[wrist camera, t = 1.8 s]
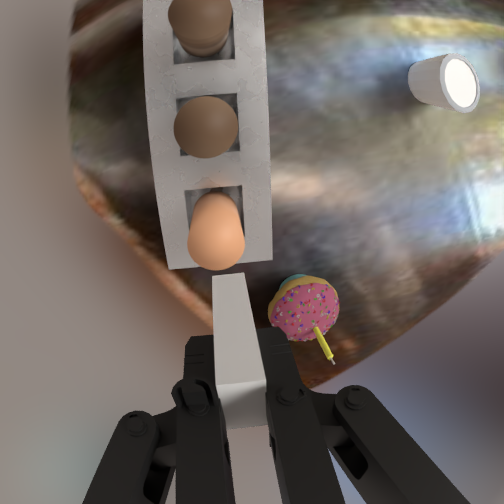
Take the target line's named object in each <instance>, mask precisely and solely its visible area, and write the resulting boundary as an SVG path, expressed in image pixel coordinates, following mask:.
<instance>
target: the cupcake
mask: <svg viewBox="0 0 504 504" xmlns="http://www.w3.org/2000/svg"><path fill="white" fill-rule="evenodd" d="M339 303H340V302H339V299H338V296H337V293H336V291H335V289H334V288H333V287H332V286H331V285H330V284H329V283H328V282H327V281H326V280H324V279H322V278H317V277H313V276H307V275H303V274H296V275H292V276H290V277H288V278H287V279H285V280H284V281H283V282H282V284H281V286H280V288H279V291H278V292H277V293H276V295H275V297H274V298H273V300H272V301H271V302H270V303H269V307H268V317H269V321H270V322H271V324H272V326H273V327H277V326H279V327H280V328H281V329H282V330H283V331H284V332H285V333H286V335H287V338H288V340H294V341H297V340H298V341H299V340H301V341H302V340H303V341H306V340H311V339H312V340H313V338H317V339H318V341H319V343H320V345H321V347H322V349H323V351H324V353H325V355H326V357H327V359H330V360H331V361H332V363H333V364H335V363H334V361H333V359H332V358H333V355H332V353H331V351H330V349H329V347H328V345H327V343H326V341H325V339H324V337H323V336H322V334H323V335H325V334H326V333H325V332H327V331H328V330H329V329H330V328H331V327H332V325H334V324H335V322H336V319H337V318H338V317H337V316H338V313H339V309H340V308H339ZM324 333H325V334H324Z"/></svg>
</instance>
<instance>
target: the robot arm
mask: <svg viewBox="0 0 504 504" xmlns="http://www.w3.org/2000/svg"><path fill="white" fill-rule="evenodd" d="M212 290H213V330H214V335H204V336H192V337H190V339H189V341H188V342H187V344H186V346H185V358H184V375H183V379H182V380H180V381H178V382H177V383H176V384H175V386H174V387H173V389H172V392H171V394H172V397H173V399H174V401H175V404H176V407H174V408H173V409H171V410H169V411H167V412H165V413H161V414H158V415H154V416H151V415H150V414H149V413H146V412H144V411H133V412H129V413H128V414H126V415H124V416H123V417H122V418H121V419H120V421H119V422H118V424H117V427H116V429H115V431H114V433H113V435H112V437H111V439H110V442H109V444H108V446H107V448H106V451H105V453H104V455H103V457H102V459H101V462H100V464H99V466H98V468H97V471H96V473H95V475H94V477H93V480H92V482H91V484H90V487H89V489H88V491H87V494H86V496H85V499H84V501H83V503H82V504H165V502H166V498H167V495H168V492H169V488H170V485H171V482H172V479H173V475H174V472H175V469H176V504H236V503H235V496H234V488H233V478H232V469H231V460H230V451H229V442H228V439H227V431H226V429H237V428H246V427H255V426H262V425H268V427H269V438H270V447H271V448H272V453H273V458H274V464H275V469H276V474H277V479H278V484H279V488H280V493H281V498H282V503H283V504H345V501H344V497H343V495H342V491H341V488H340V485H339V482H338V479H337V476H336V472H335V470H334V467H333V463H332V460H331V457H330V454H329V451H330V452H331V453H332V455H333V456H334V458H335V459H336V461H337V462H338V464H339V465H340V466H341V468H342V470H343V471H344V472H345V474H346V475H347V477H348V478H349V479H350V481H351V482H352V484H353V485H354V487H355V488H356V489H357V491H358V492H359V494H360V495H361V496H362V498H363V499H364V501H365V502H366V503H367V504H470V503H469V502H468V501H467V499H466V498H465V497H464V496H463V495H462V494H461V493H460V492H459V491H458V490H457V488H456V487H455V486H454V485H453V484H452V483H451V481H450V480H449V479H448V478H447V477H446V476H445V475H444V474H443V472H442V471H441V470H440V469H439V468H438V467H437V466H436V464H435V463H434V462H433V461H432V460H431V459H430V458H429V457H428V455H427V454H426V453H425V452H424V451H423V450H422V449H421V448H420V446H419V445H418V444H417V443H416V442H415V441H414V440H413V438H412V437H411V436H410V435H409V434H408V433H407V432H406V431H405V429H404V428H403V427H402V426H401V425H400V424H399V423H398V422H397V420H396V419H395V418H394V417H393V416H392V415H391V414H390V413H389V411H388V410H387V409H386V408H385V407H384V406H383V404H382V403H381V402H380V401H379V400H378V399H377V398H376V397H375V395H374V394H373V393H372V392H371V391H370V390H368V389H367V388H365V387H362V386H359V385H351V386H347V387H344V388H343V389H341V390H340V391H339V392H338V393H337V394H322V393H317V392H314V391H312V390H310V389H308V388H307V387H306V386H305V385H304V384H303V383H302V381H301V378H300V375H299V372H298V369H297V366H296V363H295V360H294V357H293V354H292V351H291V347H290V345H289V341H288V338H287V335H286V333H285V332H284V331H283V330H282V329H281V328H280V327H279V326H277V327H269V328H261V329H255V325H254V320H253V315H252V310H251V305H250V300H249V295H248V290H247V286H246V281H245V276H244V273H236V274H227V275H217V276H212ZM328 449H329V451H328Z"/></svg>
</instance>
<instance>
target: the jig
mask: <svg viewBox="0 0 504 504" xmlns="http://www.w3.org/2000/svg"><path fill="white" fill-rule="evenodd" d="M172 1H173V0H143V55H144V78H145V95H146V109H147V121H148V131H149V141H150V151H151V159H152V168H153V175H154V183H155V190H156V197H157V204H158V210H159V217H160V223H161V229H162V235H163V240H164V246H165V251H166V257H167V262H168V267H169V269H180V268H191V267H201V266H199V265H198V264H197V263H195V262H194V261H193V259H192V258H191V256H190V254H189V252H188V248H187V240H188V235H189V230H190V224H191V219H192V214H193V209H194V206H195V203H196V201H197V200H198V199H199V198H200V197H201V196H202V195H204V194H205V193H208V192H212V191H220V192H223V193H226V194H228V195H229V196H230V197H231V198H232V199H233V200H234V201H235V203H236V206H237V210H238V214H239V218H240V222H241V227H242V231H243V235H244V240H245V248H244V252H243V254H242V256H241V258H240V259H239V260H238V261H237V262H236V263H245V262H255V261H266V260H272V209H271V172H270V141H269V115H268V92H267V70H266V51H265V33H264V16H263V0H230V2H231V4H232V16H231V21H230V26H229V32H228V37H227V42H226V44H225V46H224V47H223V48H222V50H220V51H219V52H218V53H216V54H215V55H212V56H209V57H202V58H201V57H195V56H192V55H190V54H188V53H187V52H185V51H184V49H183V48H182V46H181V44H180V42H179V40H178V38H177V37H176V35H175V33H174V31H173V29H172V27H171V25H170V23H169V20H168V9H169V6H170V4H171V2H172ZM203 96H210V97H216V98H219V99H221V100H223V101H225V102H226V103H227V104H228V105H229V106H230V107H231V108H232V109H233V111H234V112H235V114H236V117H237V120H238V133H237V136H236V139H235V141H234V143H233V144H232V145H231V147H230V148H229V149H228V150H227V151H225V152H224V153H223V154H221V155H219V156H216V157H213V158H205V159H203V158H197V157H194V156H191V155H189V154H187V153H186V152H185V151H183V150H182V149H181V147H180V146H179V145H178V143H177V141H176V139H175V136H174V121H175V118H176V115H177V113H178V112H179V110H180V109H181V108H182V107H183V106H184V105H185V104H186V103H187V102H189V101H190V100H192V99H195V98H198V97H203Z"/></svg>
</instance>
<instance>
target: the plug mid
mask: <svg viewBox="0 0 504 504" xmlns="http://www.w3.org/2000/svg"><path fill="white" fill-rule="evenodd" d="M237 133H238V120H237V117H236V114H235V112H234V111H233V109H232V108H231V107H230V106H229V105H228V104H227V103H226V102H225V101H223V100H221V99H219V98H216V97H210V96H203V97H198V98H195V99H192V100H190V101H189V102H187V103H186V104H185V105H184V106H183V107H182V108H181V109H180V110H179V112H178V113H177V115H176V118H175V121H174V136H175V139H176V141H177V143H178V145H179V146H180V147H181V149H182V150H183V151H185V152H186V153H187V154H189V155H191V156H194V157H197V158H203V159H205V158H213V157H216V156H219V155H221V154H223V153H224V152H225V151H227V150H228V149H229V148H230V147H231V145H232V144H233V143H234V141H235V139H236V136H237Z"/></svg>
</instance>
